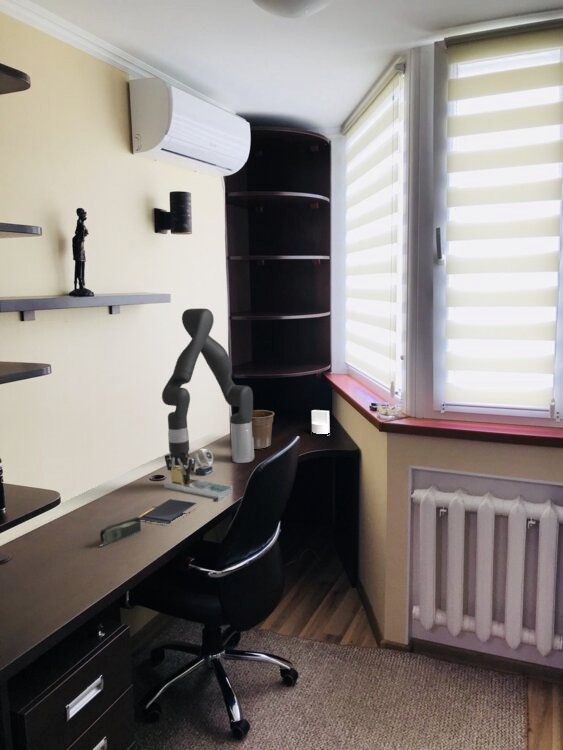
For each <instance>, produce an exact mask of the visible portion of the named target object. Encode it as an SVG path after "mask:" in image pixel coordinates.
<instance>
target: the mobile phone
mask: <svg viewBox="0 0 563 750" xmlns="http://www.w3.org/2000/svg"><path fill="white" fill-rule="evenodd" d="M138 517H139V516H138ZM138 517H137V516H136V517H133V518H130V519H126V520H123V521H120V522H116V523H114V524H110V525H107V526H106V527H104V528H103V529H101V531H100V534H99V536H100V541H101V544H99V545H98V548H101V546H102V547H104V546H107V545H109V544H112V543H114V541H115V542H117V540H118V541H120V540H123V539H126V538H128V537H127V536H129V537H131V536H133V535H132V534H134V533H137V532H139V531H140V532H141V530H142V529H141V528H142V527H141V521H140V518H138ZM140 532H139V533H140ZM137 534H138V533H137ZM130 535H131V536H130ZM134 535H135V534H134ZM125 537H126V538H125ZM122 538H123V539H122ZM119 539H120V540H119ZM111 542H112V543H111ZM108 543H109V544H108ZM106 544H107V545H106ZM103 545H104V546H103Z"/></svg>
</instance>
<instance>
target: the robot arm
mask: <svg viewBox="0 0 563 750" xmlns="http://www.w3.org/2000/svg"><path fill="white" fill-rule="evenodd" d="M181 322H182V326H183V327H184V329H185V331H186V332H187V334H188V335H189V336H190V338H191V340H190V342H188V344H187V346H186V347H185V348H184V349H183V350H182V352H181V353H180V354H179V356H178V357H177V360H176V363H175V366H174V369H173V373H172V375H171V377H169V378H168V381H167V382H166V385H165V386H164V388H163V391H162V393H161V399H162V403H164V404H165V405H167V406H173V407H174V406H175V410H174V411H171V412H169V413H168V414H167V425H168V430H167V431H168V432H167V436H168V437H167V438H168V451H169V453H168V454H165V455H164V456H163V457H164V460H165V464H166V468H167V471H170V472H171V469H173V468H175V467H178V466H180V467H181V469H182V470H183V472H184V484H188V483H189V482H190V477H191V474H193V473H195V468H196V463H195V460H196V459H195V458H194V457H193V458H192V457H190V454H189V451H190V440H189V439H190V438H189V437H190V435H189V429H188V419H187V418H188V417H187V416H188V413H189V407H190V401H191V395H190V392H189V390H188V389H187V388H185V387H182V386H183V385H186V384H189V383H190V382H191V381H192V377H193V373H194V371H195V370H194V369H195V367H196V364H197V361H198V359H199V355H200V353H201V355H202V356H203V358H204V361H205V362H206V364H207V365H208V368H209V370H211V372H212V374H213V376H214V378H215V380H216V381H217V384H218V386H219V387H220V391H221V393H222V395H223V397H224V400H225V403H227V404H228V406H231V407H237V408H238V412H236V413H234V414H232V415H231V416H230V434H231V435H230V436H231V437H230V438H231V439H230V440H231V456H232V462H234V463H237V464H245V463H250V462H252V461H254V459H255V450H254V438H253V437H252V414H253V410H254V395H253V390H252V388H251V387H250V386H248V385H238V384H237V385H236V384H235V383H234V381H233V380H232V378H231V377H232V376H231V372H232V367H233V364H232V363H233V362H232V360H231V358H230V355H229V354H228V352H227V350H226V349H225V348H224V346H222V345H221V343H220V342H218V341H217V340H216V339H214V338H213V337H211V336H210V333H211V330H212V329H213V326H214V315H213V313H212V311H211V310H210V309H209V308H188V309H185V310H184V311H183V312H182V316H181ZM186 469H187V471H186Z"/></svg>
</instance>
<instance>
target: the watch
mask: <svg viewBox="0 0 563 750" xmlns="http://www.w3.org/2000/svg"><path fill="white" fill-rule="evenodd" d="M200 452H201V454H202V458H203V460H204V461H205V462H206V464H207V465H203V463H202V462H201V460H200V458H199V453H200ZM193 458H195V459H196V460H195V465H196V466H197V467H198V468H196V469H195V468H194V471H195V475H196V476H203V477H205V476H208V475H209V474H211V473H213V466H212V465H213V462H214V455H213V452H212V451H210V450H209V449H206V448H199V449H197V450H195V452H194V454H193Z"/></svg>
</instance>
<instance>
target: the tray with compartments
mask: <svg viewBox="0 0 563 750" xmlns="http://www.w3.org/2000/svg"><path fill="white" fill-rule="evenodd" d="M163 486H164V487H163V488H166V489H170V490H174V491H180V492H185V493H189V494H195V495H199V496H205V497H208V498H213V501H215V500H216V501H215V502H220V501H221V500H224V499H225V498H228V497H229V496H231V495H233V485H230V484H225V483H220V482H213V481H209V480H208V481H207V480H203V479H197V478H193V477H191V483H190V484H188V485H181V484H176V483H172V480H171V481H163Z"/></svg>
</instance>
